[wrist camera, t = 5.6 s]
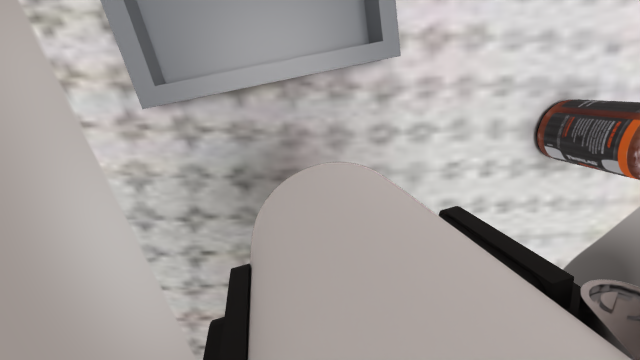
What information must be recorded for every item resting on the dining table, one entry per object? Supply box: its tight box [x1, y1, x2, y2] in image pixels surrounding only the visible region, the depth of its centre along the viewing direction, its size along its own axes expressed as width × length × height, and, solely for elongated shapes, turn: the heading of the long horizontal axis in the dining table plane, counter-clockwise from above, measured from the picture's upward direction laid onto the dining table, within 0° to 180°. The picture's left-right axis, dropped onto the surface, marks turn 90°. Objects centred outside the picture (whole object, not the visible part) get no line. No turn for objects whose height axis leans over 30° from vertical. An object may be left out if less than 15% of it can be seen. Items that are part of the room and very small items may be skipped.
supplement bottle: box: [537, 100, 640, 180], centre depth 25 cm, size 6×6×11 cm
